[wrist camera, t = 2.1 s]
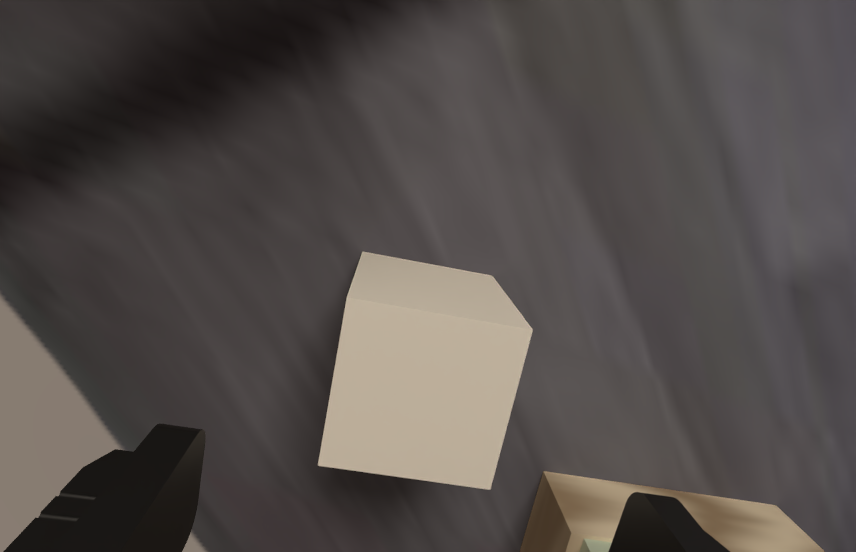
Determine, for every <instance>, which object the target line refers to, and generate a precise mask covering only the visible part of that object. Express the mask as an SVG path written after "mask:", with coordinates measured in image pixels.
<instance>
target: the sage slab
mask: <svg viewBox="0 0 856 552" xmlns="http://www.w3.org/2000/svg"><path fill="white" fill-rule="evenodd" d="M611 543H612V542H605V541H598V540H592V539H585V538H584V540H583V543H582V546H581V549H580V552H609V549H610V546H611Z"/></svg>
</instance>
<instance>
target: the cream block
mask: <svg viewBox="0 0 856 552" xmlns="http://www.w3.org/2000/svg"><path fill="white" fill-rule="evenodd" d="M532 331H533V329H532V328H531V327H530V325H529V324H528V323H527V321H526V320H525V319H524V317H523V316H522V315H521V313H520V312H519V311H518V309H517V308H516V307H515V305H514V304H513V303H512V301H511V300H510V299H509V297H508V296H507V295H506V293H505V292H504V291H503V289H502V288H501V287H500V285H499V284H498V283H497V281H496V280H495V279H494V277H493V276H491V275H486V274H480V273H475V272H470V271H464V270H459V269H454V268H448V267H443V266H437V265H432V264H427V263H421V262H416V261H411V260H405V259H400V258H394V257H389V256H384V255H378V254H373V253H368V252H362V254H361V257H360V260H359V263H358V266H357V269H356V272H355V275H354V278H353V281H352V284H351V286H350V289H349V292H348V295H347V299H346V305H345V311H344V316H343V322H342V328H341V334H340V340H339V345H338V351H337V357H336V363H335V369H334V374H333V380H332V386H331V392H330V398H329V404H328V409H327V415H326V421H325V427H324V433H323V438H322V444H321V450H320V456H319V462H318V466H324V467H331V468H338V469H345V470H352V471H360V472H367V473H374V474H381V475H388V476H395V477H402V478H410V479H417V480H424V481H431V482H438V483H445V484H453V485H460V486H467V487H474V488H481V489H488V490H490V489H491V485H492V481H493V478H494V474H495V470H496V466H497V463H498V459H499V455H500V451H501V448H502V444H503V440H504V436H505V433H506V429H507V425H508V421H509V417H510V414H511V410H512V406H513V402H514V399H515V395H516V391H517V387H518V384H519V380H520V376H521V372H522V369H523V365H524V361H525V357H526V354H527V350H528V346H529V342H530V339H531V335H532Z"/></svg>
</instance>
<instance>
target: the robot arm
mask: <svg viewBox="0 0 856 552" xmlns="http://www.w3.org/2000/svg"><path fill="white" fill-rule="evenodd" d="M204 448H205V431H204V430H202V429H195V428H188V427H181V426H173V425H166V424H157V425H156V426H155V427H154V428H153V429H152V430H151V432H150V433H149V434H148V435H147V436H146V438H145V439H144V440H143V441H142V443H141V444H140V445H139V446H138V447H137V449H136V450H135V451H134V452H131V451H123V450H116V449H115V450H113V451H112V452H110V453H108V454H106V455H104V456H103V457H101V458H99V459H97V460H95V461H94V462H92V463H90V464H88V465H87V466H85V467H83V468H82V469H81V470H80V471H79V472H78V473H77V475H76V476H75V477H74V478H73V479H72V480H71V481H70V482H69V483H68V484H67V485H66V486H65V487H64V488H63V489H62V490H61V492H60V495H59V496H56V497H55V498H54V499H53V500H52V501H51V502H50V503H49V504H48V505H47V506H46V507H45V508H44V509H43V510H42V511H41V514H40V516H39V518H35V519H34V520H33V521H32V522H31V523H30V524H29V525H28V526H27V527H26V529H24V530H23V532H22V533H21V534H20V535H19V536H18V537H17V538H16V539H15V540H14V541H13V542H12V543H11V544H10V545H9V546H8V547H7V549H6V550H5V551H4V552H182V550H183V548H184V546H185V544H186V542H187V540H188V537H189V535H190V532H191V529H192V526H193V523H194V519H195V515H196V510H197V505H198V497H199V489H200V481H201V473H202V464H203V456H204ZM609 552H730V551H729V550H728V549H726V548H725V547H724V546H723V545H721V544H720V543H719V542H718V541H717V540H715V539H714V538H713V537H712V536H710V535H709V534H708V533H707V532H705V531H704V530H703V529H702V528H701V526H700V525H699V524H698V523H697V522H696V520H695V519H694V518H693V517H692V515H691V514H690V513H689V512H688V511H687V509H686V508H685V507H684V506H683V504H682V503H681V502H680V501H679V500H678V499H676V498H674V497H669V496H662V495H655V494H648V493H641V492H634V493H632V494H631V495H630V496H629V498H628V499H627V501H626V504H625V507H624V510H623V512H622V515H621V518H620V521H619V524H618V527H617V529H616V532H615V535H614V538H613V541H612V543H611V546H610V549H609Z"/></svg>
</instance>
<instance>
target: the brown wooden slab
mask: <svg viewBox="0 0 856 552" xmlns="http://www.w3.org/2000/svg"><path fill="white" fill-rule="evenodd" d="M634 492H641V493H648V494H655V495H662V496H669V497H674V498H676V499H678V500H679V501H680V502H681V503H682V504H683V506H684V507H685V508H686V509H687V511H688V512H689V513H690V514H691V515H692V517H693V518H694V519H695V520H696V522H697V523H698V524H699V525H700V526H701V528H702V529H703V530H704V531H705V532H707V533H708V534H709V535H710V536H712V537H713V538H714V539H715V540H717V541H718V542H719V543H720V544H721V545H723V546H724V547H725V548H726V549H728V550H729V551H730V552H825V551H824V550H823V549H822V548H821V547H819V546H818V545H817V544H816V543H815V542H814V541H813V540H812V539H811V538H810V537H809V536H808V535H807V534H806V533H805V532H804V531H803V530H801V529H800V528H799V527H798V526H797V525H796V524H795V523H794V522H793V521H792V520H791V519H790V518H789V517H788V516H787V515H786V514H785V513H783V512H782V511H781V510H780V509H779V508H778V507H777V506H776V505H770V504H763V503H757V502H750V501H743V500H736V499H729V498H723V497H716V496H709V495H702V494H695V493H689V492H682V491H675V490H668V489H661V488H655V487H648V486H641V485H634V484H627V483H620V482H614V481H607V480H600V479H593V478H586V477H580V476H573V475H566V474H559V473H552V472H546V471H543V474H542V478H541V481H540V484H539V488H538V491H537V495H536V498H535V501H534V505H533V508H532V512H531V515H530V518H529V522H528V525H527V529H526V532H525V535H524V539H523V542H522V545H521V549H520V552H580V549H581V546H582V543H583V540H584V538H585V539H592V540H598V541H605V542H612V541H613V538H614V535H615V532H616V529H617V527H618V524H619V521H620V518H621V515H622V512H623V510H624V507H625V504H626V501H627V499H628V498H629V496H630V495H631V494H632V493H634Z"/></svg>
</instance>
